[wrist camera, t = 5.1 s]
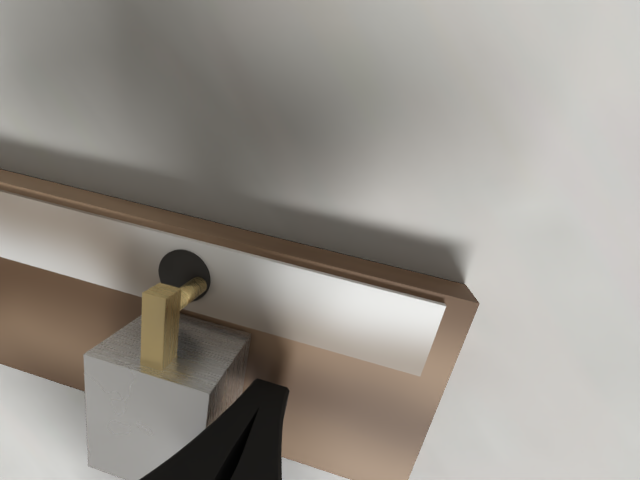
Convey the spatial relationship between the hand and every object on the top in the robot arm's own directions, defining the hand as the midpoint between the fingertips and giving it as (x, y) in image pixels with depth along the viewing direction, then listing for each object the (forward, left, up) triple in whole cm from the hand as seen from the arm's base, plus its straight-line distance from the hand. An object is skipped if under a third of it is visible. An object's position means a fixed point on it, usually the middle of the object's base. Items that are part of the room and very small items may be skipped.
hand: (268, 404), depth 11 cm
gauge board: (+1, +7, -2) cm, 8 cm away
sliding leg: (+1, +3, -1) cm, 4 cm away
